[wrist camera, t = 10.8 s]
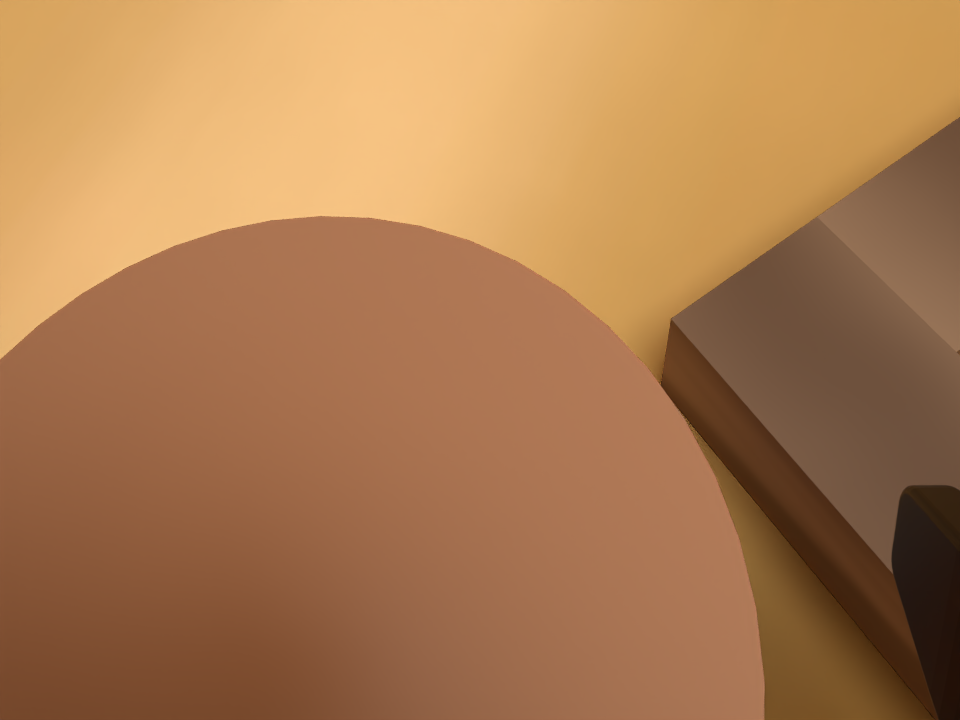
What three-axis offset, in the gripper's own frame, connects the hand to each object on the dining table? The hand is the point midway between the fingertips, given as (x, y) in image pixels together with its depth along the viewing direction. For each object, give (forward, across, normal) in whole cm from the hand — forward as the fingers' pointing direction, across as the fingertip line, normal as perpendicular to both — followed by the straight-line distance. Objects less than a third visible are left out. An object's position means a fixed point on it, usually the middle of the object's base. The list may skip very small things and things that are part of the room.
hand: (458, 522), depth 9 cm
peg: (+5, 0, +7) cm, 8 cm away
